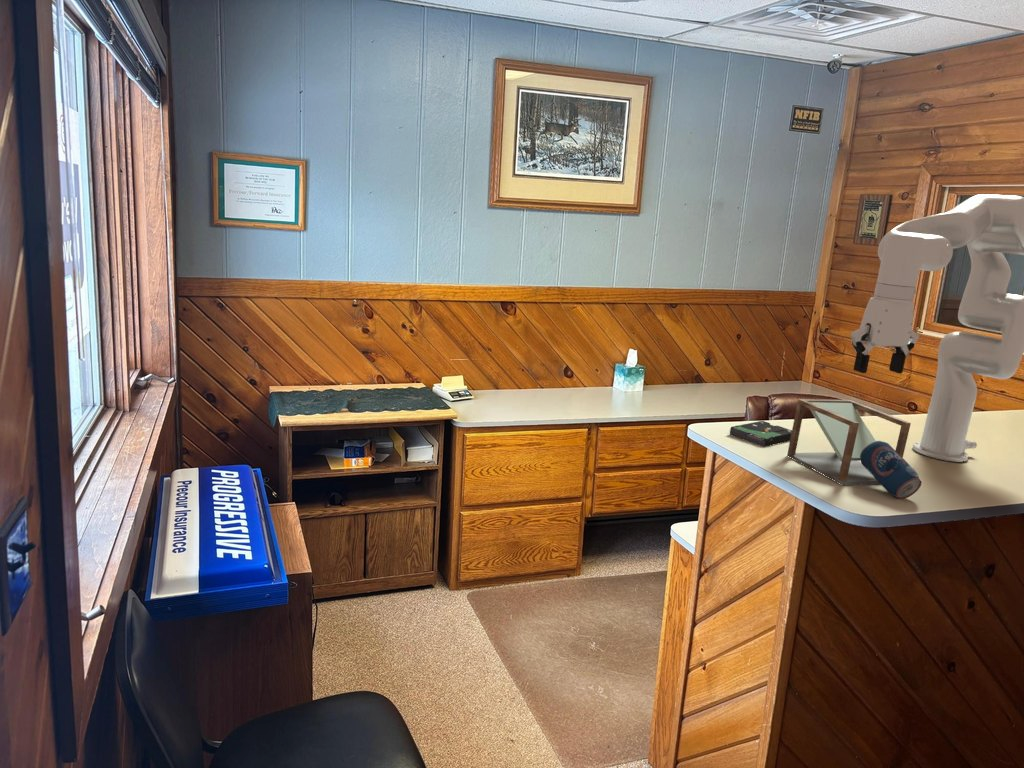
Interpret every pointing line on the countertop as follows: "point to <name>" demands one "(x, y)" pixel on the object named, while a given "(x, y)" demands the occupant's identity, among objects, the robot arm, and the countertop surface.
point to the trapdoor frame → (829, 461)
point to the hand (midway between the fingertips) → (877, 371)
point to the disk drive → (761, 433)
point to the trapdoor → (843, 428)
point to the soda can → (890, 469)
